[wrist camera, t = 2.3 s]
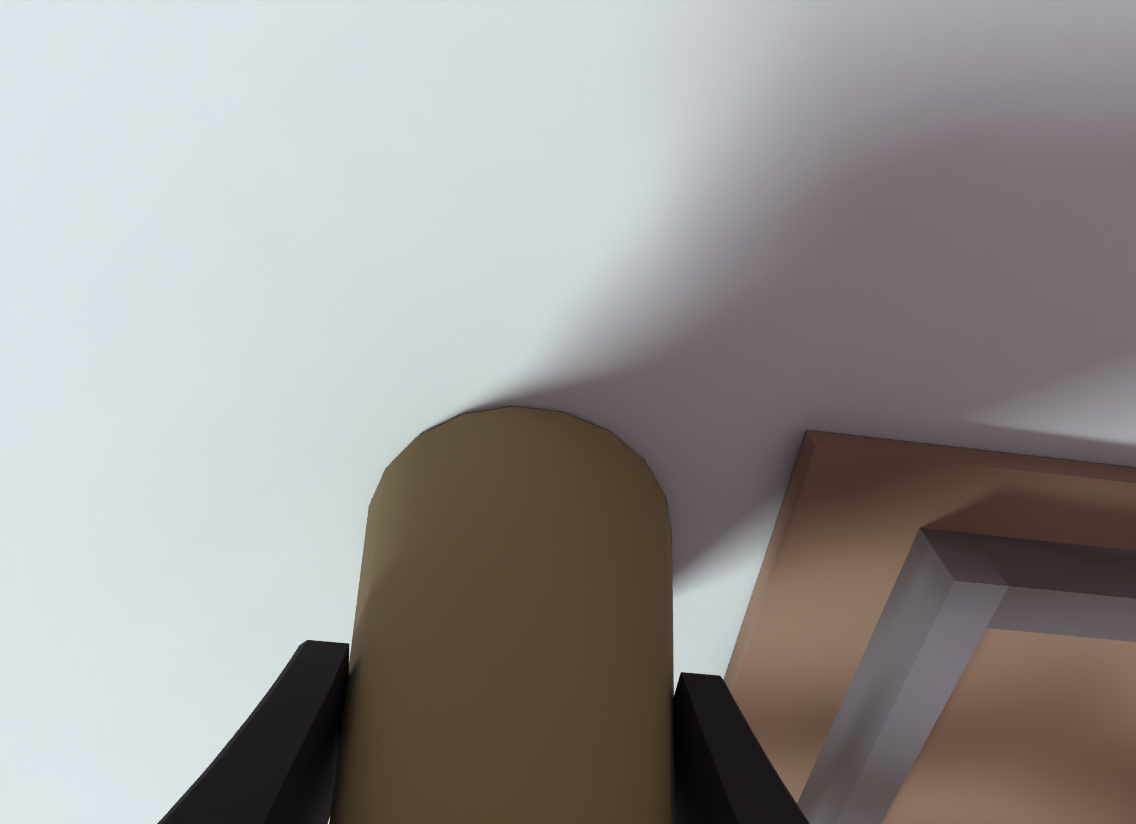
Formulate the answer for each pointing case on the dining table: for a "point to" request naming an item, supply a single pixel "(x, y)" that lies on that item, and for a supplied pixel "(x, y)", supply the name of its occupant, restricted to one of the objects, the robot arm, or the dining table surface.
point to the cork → (512, 632)
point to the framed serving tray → (946, 637)
